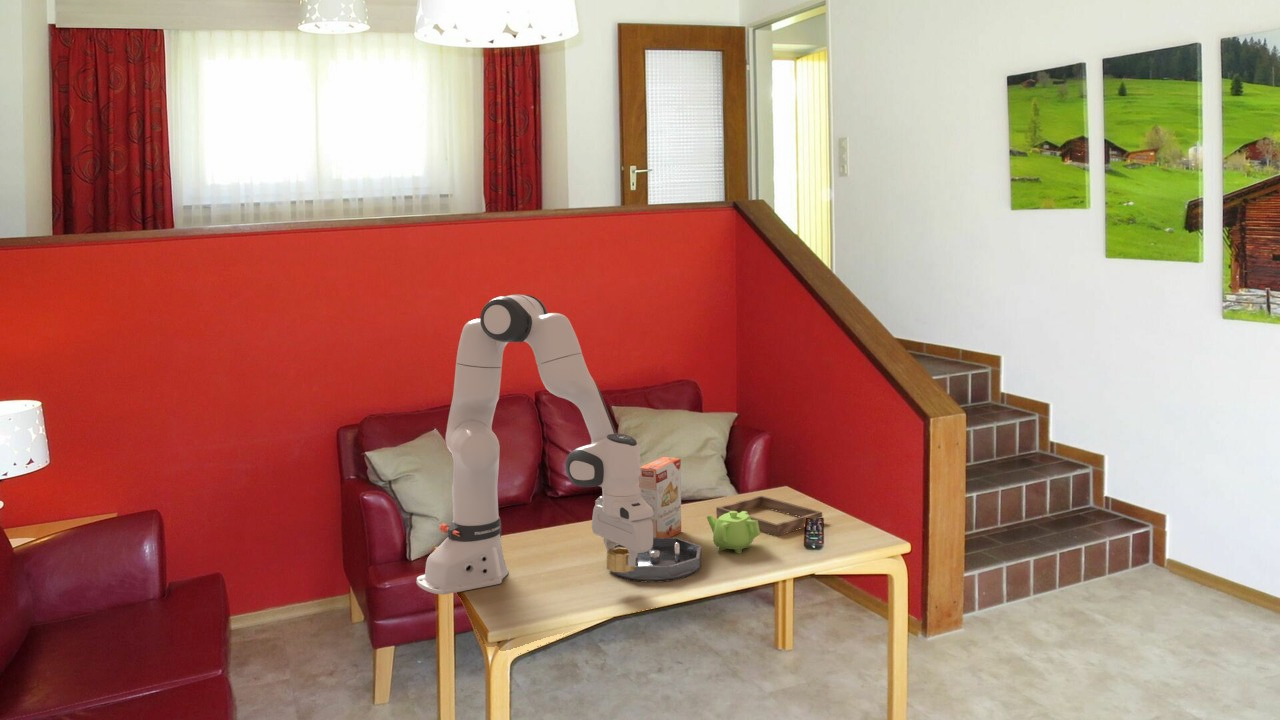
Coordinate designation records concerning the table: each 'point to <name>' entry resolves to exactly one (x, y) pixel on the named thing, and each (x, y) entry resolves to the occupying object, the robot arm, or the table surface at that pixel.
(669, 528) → the cracker box
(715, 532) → the teapot
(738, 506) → the rectangular frame
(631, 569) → the gear
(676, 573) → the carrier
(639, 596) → the table surface
